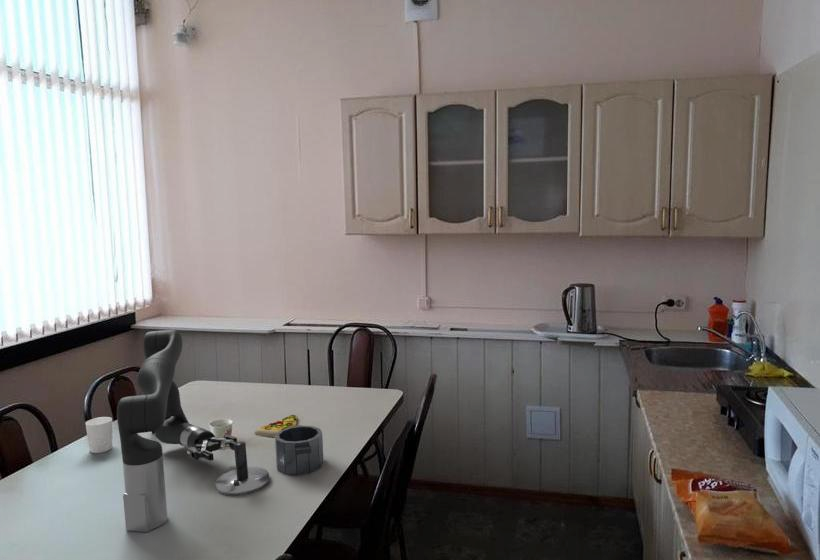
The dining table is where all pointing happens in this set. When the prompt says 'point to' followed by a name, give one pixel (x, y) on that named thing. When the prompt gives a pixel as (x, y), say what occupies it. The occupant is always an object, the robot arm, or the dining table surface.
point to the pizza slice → (276, 426)
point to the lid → (242, 476)
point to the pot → (299, 450)
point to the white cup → (99, 434)
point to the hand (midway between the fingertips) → (225, 452)
